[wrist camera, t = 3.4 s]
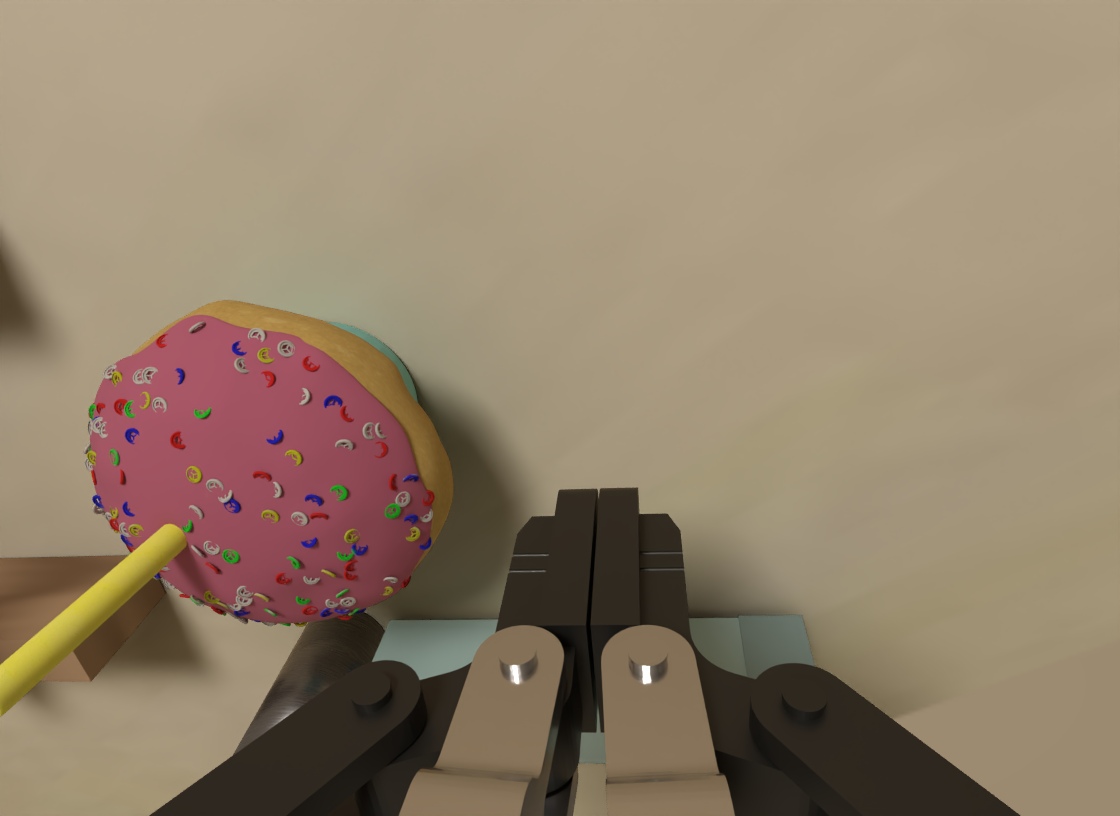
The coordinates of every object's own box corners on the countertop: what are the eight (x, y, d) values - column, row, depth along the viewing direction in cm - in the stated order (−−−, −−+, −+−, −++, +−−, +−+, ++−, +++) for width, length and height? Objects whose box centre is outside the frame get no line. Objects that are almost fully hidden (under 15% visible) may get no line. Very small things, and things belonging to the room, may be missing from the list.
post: (376, 605, 25) (311, 745, 20) (395, 665, 27) (338, 810, 22) (297, 606, 26) (215, 743, 21) (320, 665, 27) (247, 807, 22)
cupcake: (259, 514, 24) (-45, 898, 13) (155, 269, 20) (-386, 541, 10) (507, 498, 22) (385, 916, 12) (448, 232, 19) (191, 503, 8)
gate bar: (403, 666, 26) (367, 762, 23) (389, 618, 25) (348, 711, 22) (799, 668, 24) (823, 774, 21) (801, 615, 23) (828, 718, 20)
